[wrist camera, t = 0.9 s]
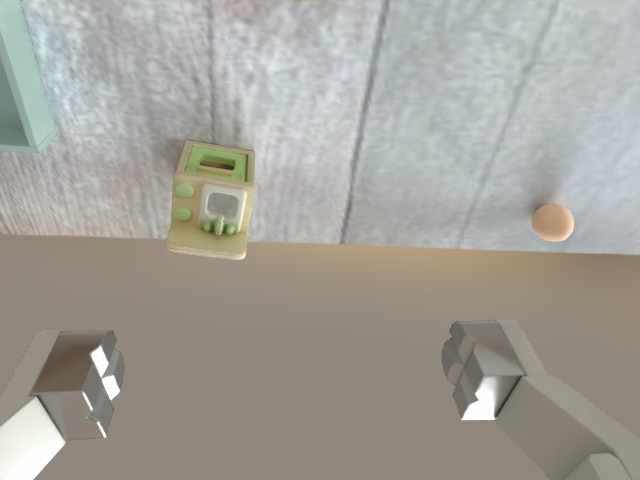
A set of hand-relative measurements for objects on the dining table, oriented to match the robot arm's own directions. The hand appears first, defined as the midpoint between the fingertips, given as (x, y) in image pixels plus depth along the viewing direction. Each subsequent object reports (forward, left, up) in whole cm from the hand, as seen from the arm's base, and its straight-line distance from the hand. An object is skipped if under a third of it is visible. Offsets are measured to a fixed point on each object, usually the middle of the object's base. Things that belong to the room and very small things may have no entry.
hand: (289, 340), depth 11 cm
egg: (+23, +40, -42) cm, 62 cm away
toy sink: (+19, -6, -42) cm, 47 cm away
